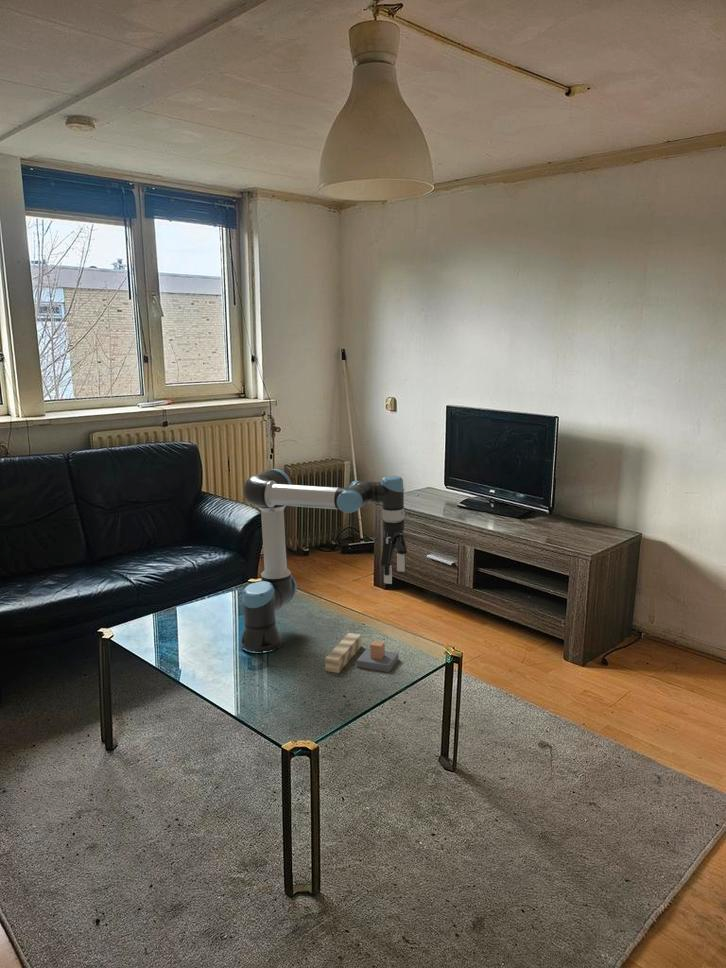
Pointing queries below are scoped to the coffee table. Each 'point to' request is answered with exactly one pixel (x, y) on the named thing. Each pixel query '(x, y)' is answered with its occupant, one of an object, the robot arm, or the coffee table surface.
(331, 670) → the beam
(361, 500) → the robot arm
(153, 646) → the coffee table surface
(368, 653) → the fulcrum
